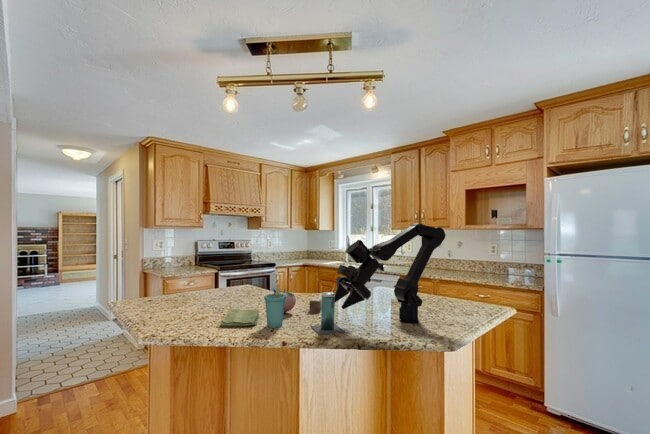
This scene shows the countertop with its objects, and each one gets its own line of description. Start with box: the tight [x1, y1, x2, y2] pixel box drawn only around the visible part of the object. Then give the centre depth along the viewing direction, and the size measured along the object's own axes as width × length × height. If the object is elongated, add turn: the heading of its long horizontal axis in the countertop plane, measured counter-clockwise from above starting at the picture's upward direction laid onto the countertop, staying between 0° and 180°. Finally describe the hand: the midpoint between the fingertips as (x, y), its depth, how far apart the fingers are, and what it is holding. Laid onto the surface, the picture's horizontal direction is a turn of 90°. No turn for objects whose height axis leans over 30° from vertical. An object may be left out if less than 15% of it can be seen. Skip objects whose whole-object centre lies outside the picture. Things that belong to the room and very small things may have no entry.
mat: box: [311, 323, 345, 336], centre depth 112 cm, size 9×9×1 cm
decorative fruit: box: [280, 288, 297, 314], centre depth 134 cm, size 9×8×10 cm
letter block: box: [309, 298, 322, 313], centre depth 139 cm, size 4×4×5 cm
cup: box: [263, 283, 286, 329], centre depth 116 cm, size 14×8×15 cm, turn 7°
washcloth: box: [219, 308, 260, 328], centre depth 123 cm, size 13×18×3 cm
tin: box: [320, 291, 336, 330], centre depth 113 cm, size 5×5×12 cm
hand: (337, 305), depth 114 cm, fingers open, 9 cm apart
